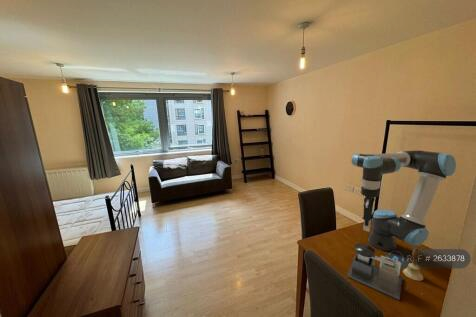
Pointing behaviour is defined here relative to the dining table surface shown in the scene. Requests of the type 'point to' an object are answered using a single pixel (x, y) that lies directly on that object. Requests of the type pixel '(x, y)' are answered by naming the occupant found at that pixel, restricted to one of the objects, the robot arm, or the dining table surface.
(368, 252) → the black ball joystick
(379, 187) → the robot arm
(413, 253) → the hand bell
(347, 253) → the dining table surface
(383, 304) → the dining table surface
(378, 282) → the press stand
